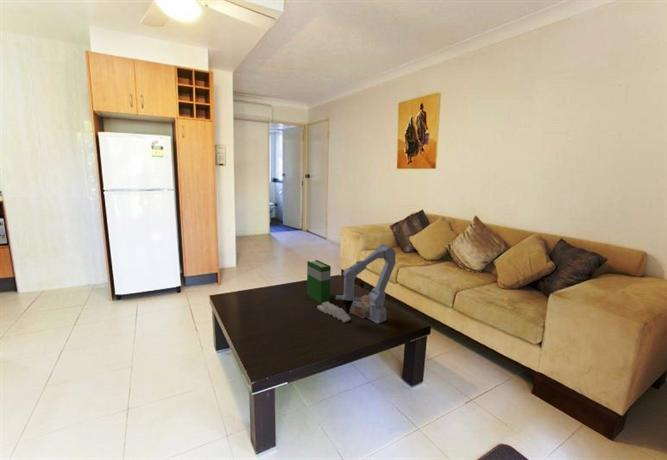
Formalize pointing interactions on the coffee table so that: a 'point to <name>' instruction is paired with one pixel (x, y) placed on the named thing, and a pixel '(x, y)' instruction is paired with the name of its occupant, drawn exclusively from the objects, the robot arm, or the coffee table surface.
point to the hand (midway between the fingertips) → (348, 312)
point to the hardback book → (318, 281)
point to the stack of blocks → (361, 307)
